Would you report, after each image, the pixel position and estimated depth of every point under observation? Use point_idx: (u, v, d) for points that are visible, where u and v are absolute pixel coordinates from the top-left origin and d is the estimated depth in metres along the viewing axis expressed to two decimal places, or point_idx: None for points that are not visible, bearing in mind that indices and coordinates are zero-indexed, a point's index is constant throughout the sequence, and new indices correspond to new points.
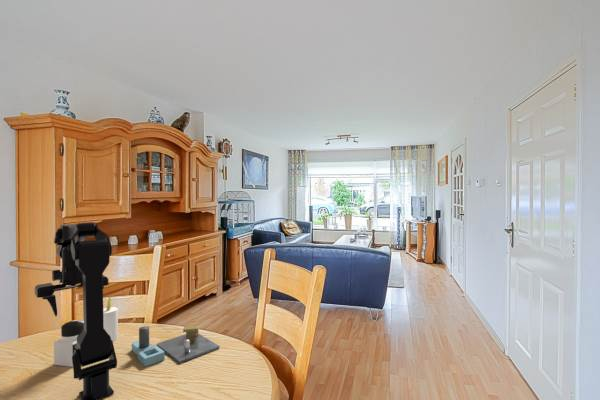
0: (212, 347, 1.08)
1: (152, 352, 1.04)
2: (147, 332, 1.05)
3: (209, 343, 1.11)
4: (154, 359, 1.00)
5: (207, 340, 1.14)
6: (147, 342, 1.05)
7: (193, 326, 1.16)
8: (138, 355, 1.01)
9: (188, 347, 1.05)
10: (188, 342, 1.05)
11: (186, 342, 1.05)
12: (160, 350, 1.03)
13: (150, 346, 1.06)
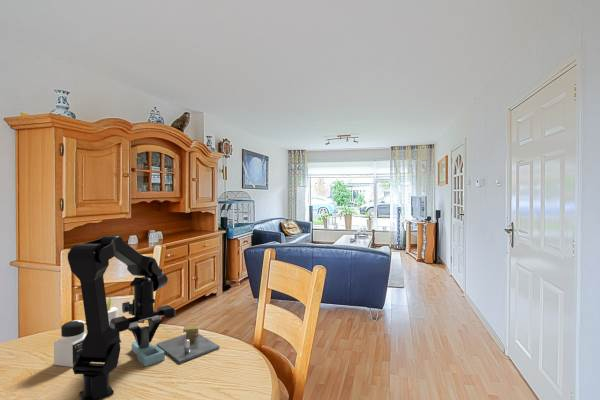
0: (212, 347, 1.08)
1: (152, 352, 1.04)
2: (147, 332, 1.05)
3: (209, 343, 1.11)
4: (154, 359, 1.00)
5: (207, 340, 1.14)
6: (147, 342, 1.05)
7: (193, 326, 1.16)
8: (138, 355, 1.01)
9: (188, 347, 1.05)
10: (188, 342, 1.05)
11: (186, 342, 1.05)
12: (160, 350, 1.03)
13: (150, 346, 1.06)
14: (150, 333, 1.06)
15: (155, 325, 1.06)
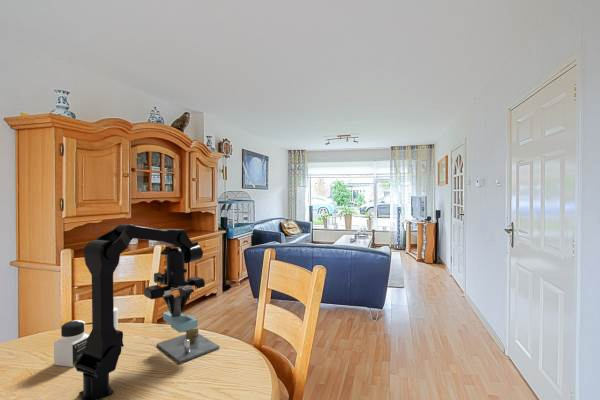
0: (212, 347, 1.08)
1: (184, 320, 1.07)
2: (179, 301, 1.08)
3: (209, 343, 1.11)
4: (188, 326, 1.03)
5: (207, 340, 1.14)
6: (179, 311, 1.08)
7: None
8: (172, 323, 1.05)
9: (188, 347, 1.05)
10: (188, 342, 1.05)
11: (186, 342, 1.05)
12: (193, 318, 1.06)
13: (182, 315, 1.09)
14: (182, 302, 1.10)
15: (187, 294, 1.09)
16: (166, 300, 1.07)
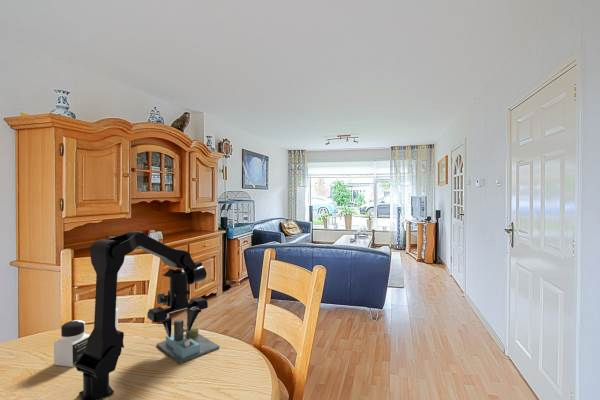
0: (212, 347, 1.08)
1: None
2: (182, 325, 1.09)
3: (209, 343, 1.11)
4: (190, 351, 1.03)
5: (207, 340, 1.14)
6: (182, 335, 1.09)
7: (193, 326, 1.16)
8: (174, 347, 1.05)
9: None
10: (188, 342, 1.05)
11: (186, 342, 1.05)
12: (195, 342, 1.06)
13: (184, 339, 1.09)
14: (189, 322, 1.11)
15: (194, 314, 1.10)
16: (164, 323, 1.06)
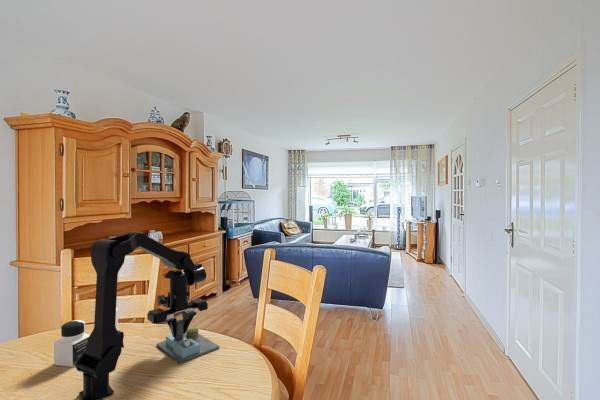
0: (212, 347, 1.08)
1: None
2: (182, 325, 1.09)
3: (209, 343, 1.11)
4: (190, 351, 1.03)
5: (207, 340, 1.14)
6: (182, 335, 1.09)
7: (193, 326, 1.16)
8: (174, 347, 1.05)
9: None
10: (188, 342, 1.05)
11: (186, 342, 1.05)
12: (195, 342, 1.06)
13: (184, 339, 1.09)
14: (184, 325, 1.10)
15: (190, 317, 1.09)
16: (169, 323, 1.07)
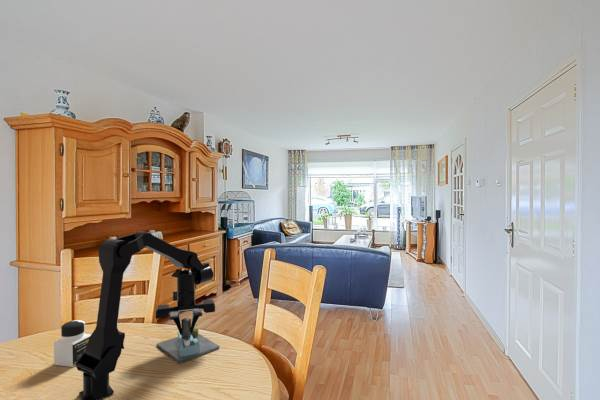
0: (212, 347, 1.08)
1: (191, 344, 1.08)
2: (188, 324, 1.10)
3: (209, 343, 1.11)
4: (189, 351, 1.03)
5: (207, 340, 1.14)
6: (188, 333, 1.10)
7: None
8: (178, 345, 1.06)
9: None
10: (188, 342, 1.05)
11: (186, 342, 1.05)
12: (196, 343, 1.06)
13: (191, 338, 1.10)
14: (191, 324, 1.10)
15: (194, 317, 1.09)
16: None
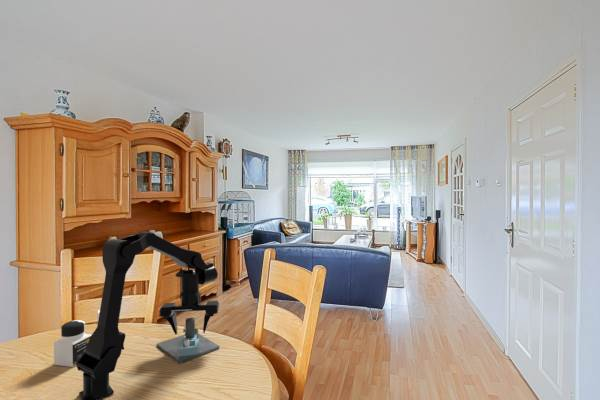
0: (212, 347, 1.08)
1: (193, 344, 1.08)
2: (191, 324, 1.10)
3: (209, 343, 1.11)
4: (188, 351, 1.03)
5: (207, 340, 1.14)
6: (191, 333, 1.10)
7: None
8: (180, 344, 1.07)
9: None
10: (188, 342, 1.05)
11: (186, 342, 1.05)
12: (197, 344, 1.05)
13: (194, 338, 1.10)
14: (204, 324, 1.11)
15: (205, 317, 1.09)
16: None
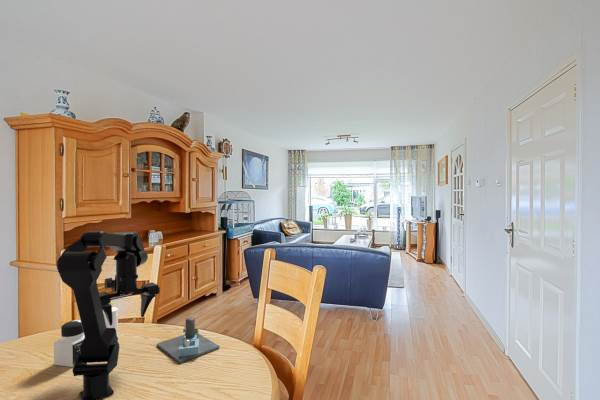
0: (212, 347, 1.08)
1: (193, 344, 1.08)
2: (191, 324, 1.10)
3: (209, 343, 1.11)
4: (188, 351, 1.03)
5: (207, 340, 1.14)
6: (191, 333, 1.10)
7: None
8: (180, 344, 1.07)
9: None
10: (188, 342, 1.05)
11: (186, 342, 1.05)
12: (197, 344, 1.05)
13: (194, 338, 1.10)
14: (143, 308, 1.05)
15: (148, 299, 1.04)
16: (104, 310, 0.98)
